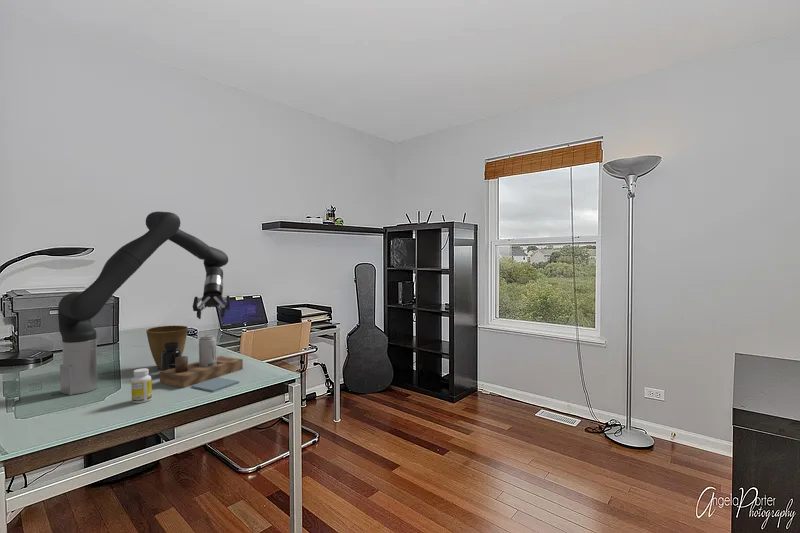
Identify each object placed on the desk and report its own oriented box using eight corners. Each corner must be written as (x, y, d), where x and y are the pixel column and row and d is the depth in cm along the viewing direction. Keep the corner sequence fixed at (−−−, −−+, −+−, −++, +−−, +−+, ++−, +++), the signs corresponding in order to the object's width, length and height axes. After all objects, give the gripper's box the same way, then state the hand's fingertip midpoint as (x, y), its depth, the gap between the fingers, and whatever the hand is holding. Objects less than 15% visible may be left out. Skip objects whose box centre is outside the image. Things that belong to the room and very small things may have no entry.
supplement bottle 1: (148, 396, 133) (147, 366, 133) (154, 400, 130) (154, 369, 129) (129, 401, 129) (128, 370, 129) (135, 404, 125) (134, 373, 125)
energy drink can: (211, 376, 155) (211, 337, 154) (196, 376, 155) (195, 337, 155) (219, 372, 161) (218, 334, 160) (204, 372, 161) (203, 334, 161)
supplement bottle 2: (172, 377, 154) (172, 345, 154) (157, 376, 156) (156, 344, 155) (185, 372, 161) (185, 341, 161) (170, 371, 162) (170, 341, 162)
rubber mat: (213, 392, 137) (213, 390, 137) (191, 387, 142) (191, 385, 142) (239, 382, 147) (239, 381, 147) (217, 378, 152) (217, 377, 152)
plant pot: (138, 370, 164) (137, 330, 163) (169, 361, 178) (169, 324, 178) (166, 373, 159) (165, 332, 159) (196, 363, 173) (196, 326, 173)
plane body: (183, 387, 142) (183, 362, 141) (159, 382, 147) (159, 358, 147) (242, 369, 165) (242, 347, 165) (220, 365, 171) (219, 344, 170)
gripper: (194, 282, 174) (190, 312, 163) (230, 281, 178) (228, 311, 168) (196, 293, 179) (192, 323, 168) (231, 292, 184) (230, 321, 173)
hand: (210, 317), depth 168 cm, fingers open, 8 cm apart
